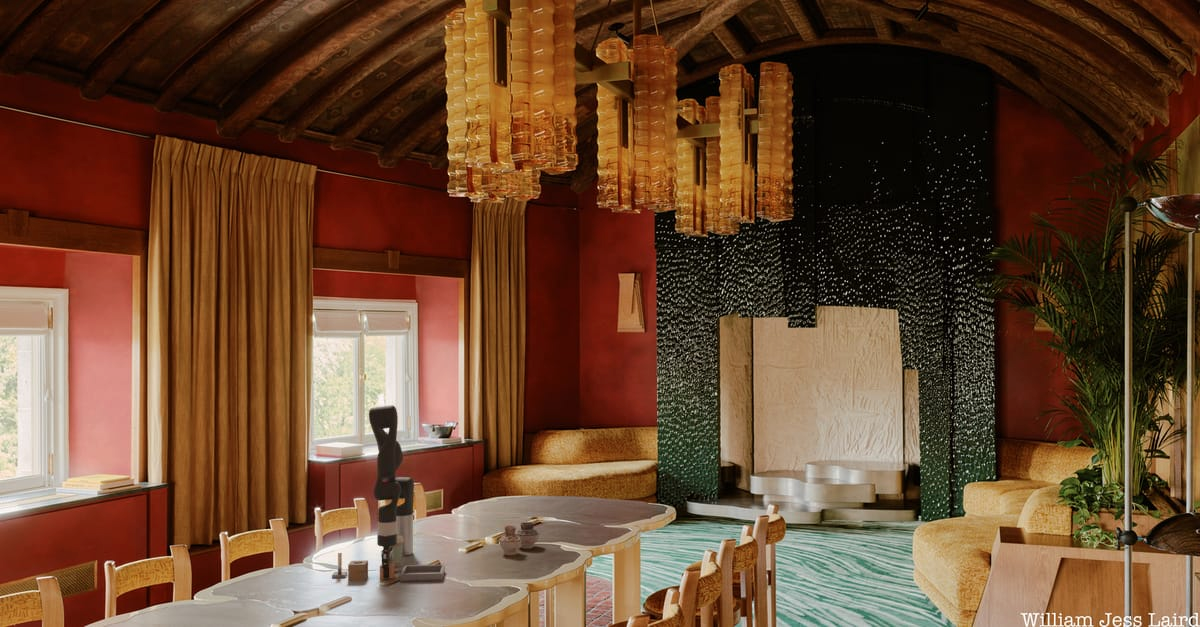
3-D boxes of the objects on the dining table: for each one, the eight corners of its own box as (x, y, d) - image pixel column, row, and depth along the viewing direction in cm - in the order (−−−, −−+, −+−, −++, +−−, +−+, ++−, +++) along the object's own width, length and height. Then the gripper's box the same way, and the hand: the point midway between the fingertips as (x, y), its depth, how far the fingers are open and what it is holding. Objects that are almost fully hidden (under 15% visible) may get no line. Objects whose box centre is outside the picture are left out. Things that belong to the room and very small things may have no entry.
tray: (404, 573, 367) (404, 565, 367) (444, 572, 368) (444, 564, 369) (400, 582, 353) (400, 574, 353) (442, 581, 355) (442, 573, 355)
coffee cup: (381, 564, 382) (381, 535, 382) (402, 562, 385) (402, 533, 385) (384, 569, 374) (384, 539, 374) (405, 567, 377) (405, 537, 377)
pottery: (493, 555, 397) (493, 527, 397) (522, 543, 420) (522, 517, 420) (516, 557, 392) (516, 529, 393) (544, 545, 415) (544, 519, 415)
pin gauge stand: (334, 574, 365) (334, 551, 365) (347, 574, 365) (347, 551, 366) (332, 578, 360) (332, 554, 360) (345, 577, 360) (345, 554, 361)
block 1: (351, 577, 361) (351, 560, 362) (367, 576, 362) (368, 560, 362) (348, 581, 355) (348, 564, 355) (365, 581, 356) (365, 564, 356)
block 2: (381, 575, 363) (381, 562, 363) (394, 575, 363) (394, 562, 363) (379, 579, 358) (379, 565, 358) (392, 578, 358) (392, 565, 358)
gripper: (380, 529, 368) (380, 571, 367) (374, 536, 353) (374, 581, 353) (399, 528, 368) (399, 571, 368) (394, 536, 354) (394, 580, 354)
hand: (387, 576), depth 361 cm, fingers closed on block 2, 5 cm apart
